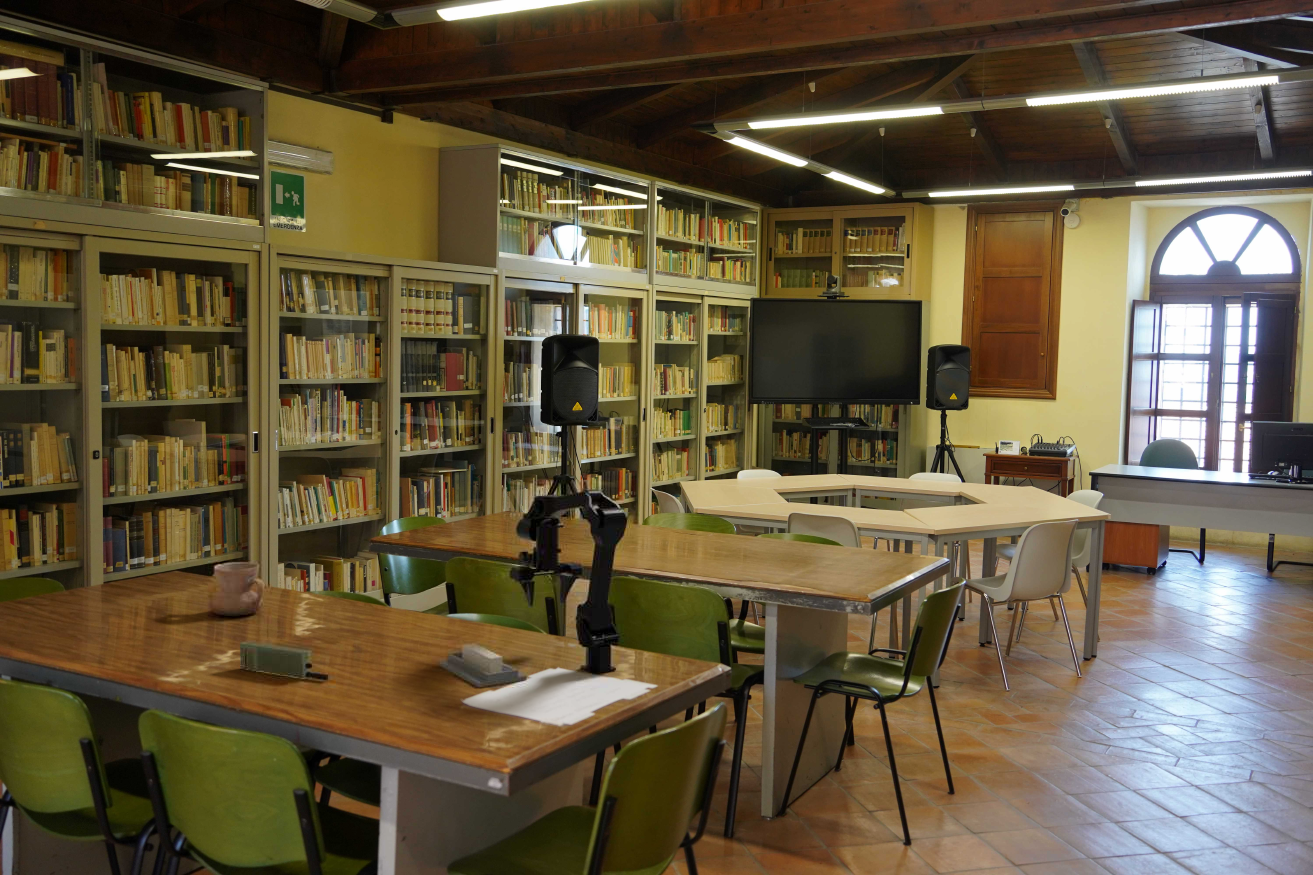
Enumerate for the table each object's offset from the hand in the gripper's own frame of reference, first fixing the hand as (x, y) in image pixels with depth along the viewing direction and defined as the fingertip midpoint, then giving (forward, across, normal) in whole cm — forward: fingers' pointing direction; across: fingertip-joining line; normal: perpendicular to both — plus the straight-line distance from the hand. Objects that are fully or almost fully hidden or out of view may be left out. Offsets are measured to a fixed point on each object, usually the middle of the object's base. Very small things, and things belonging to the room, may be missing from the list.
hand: (546, 604), depth 271 cm
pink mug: (+12, +55, -83) cm, 100 cm away
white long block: (+11, +23, +10) cm, 27 cm away
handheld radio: (+12, +62, -12) cm, 65 cm away
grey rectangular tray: (+12, +23, +10) cm, 28 cm away
